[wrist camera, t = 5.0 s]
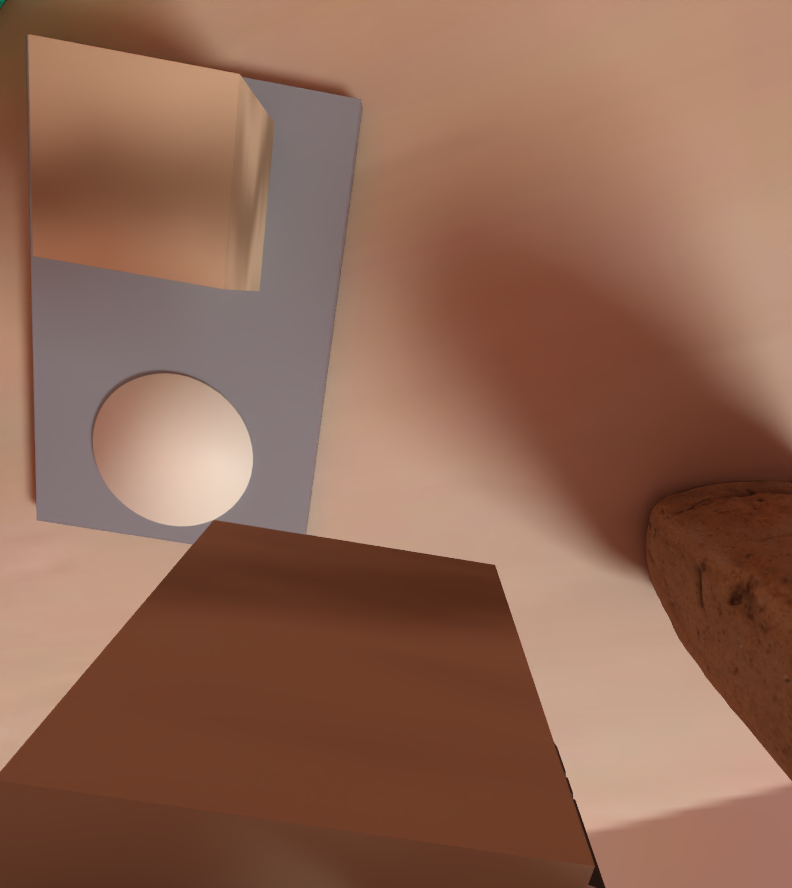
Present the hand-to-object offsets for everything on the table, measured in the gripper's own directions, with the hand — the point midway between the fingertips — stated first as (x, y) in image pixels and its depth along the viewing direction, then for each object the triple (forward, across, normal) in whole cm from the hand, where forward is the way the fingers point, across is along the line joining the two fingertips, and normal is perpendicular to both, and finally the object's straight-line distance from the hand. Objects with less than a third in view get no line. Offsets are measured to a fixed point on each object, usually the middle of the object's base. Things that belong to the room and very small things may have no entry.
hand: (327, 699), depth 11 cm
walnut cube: (+1, 0, 0) cm, 1 cm away
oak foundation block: (+17, +10, -11) cm, 23 cm away
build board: (+17, +10, -5) cm, 20 cm away
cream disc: (+16, +10, +1) cm, 19 cm away
